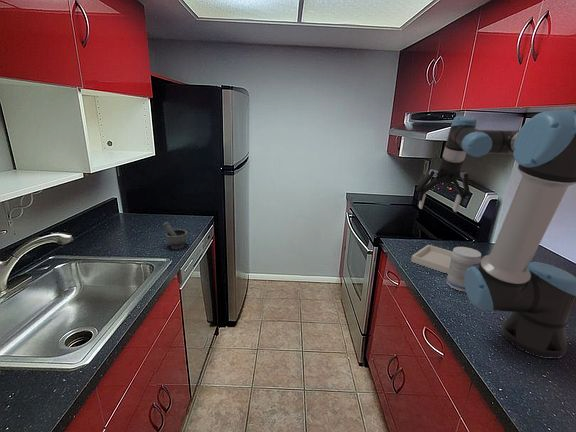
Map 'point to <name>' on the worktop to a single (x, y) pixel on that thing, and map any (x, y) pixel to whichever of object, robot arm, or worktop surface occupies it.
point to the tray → (433, 258)
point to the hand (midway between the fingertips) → (437, 209)
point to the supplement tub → (461, 266)
